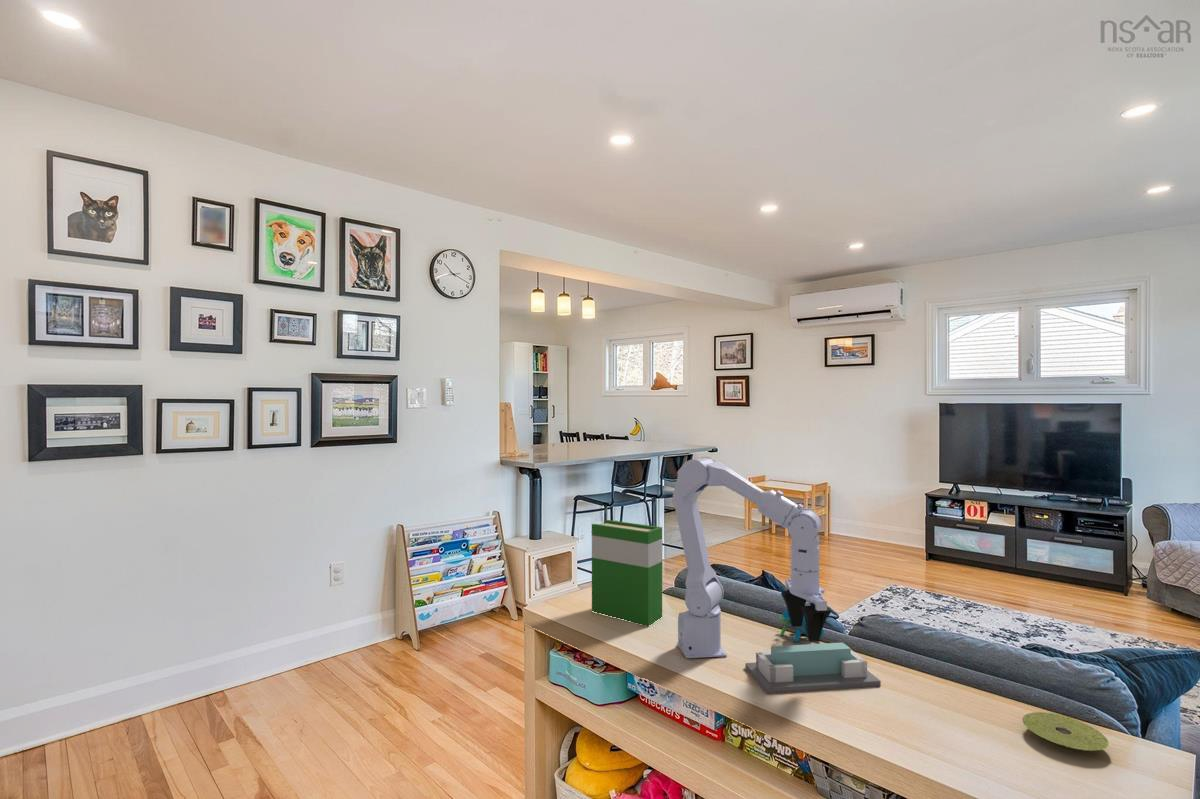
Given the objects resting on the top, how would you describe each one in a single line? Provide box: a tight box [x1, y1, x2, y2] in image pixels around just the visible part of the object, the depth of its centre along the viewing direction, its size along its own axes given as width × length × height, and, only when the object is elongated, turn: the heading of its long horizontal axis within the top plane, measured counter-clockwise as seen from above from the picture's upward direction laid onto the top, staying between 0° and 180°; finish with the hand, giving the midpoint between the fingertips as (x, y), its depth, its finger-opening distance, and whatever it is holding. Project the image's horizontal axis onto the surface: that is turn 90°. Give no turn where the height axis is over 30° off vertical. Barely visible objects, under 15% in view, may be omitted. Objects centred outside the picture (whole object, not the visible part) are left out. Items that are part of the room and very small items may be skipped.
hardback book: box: [591, 519, 663, 627], centre depth 154 cm, size 18×7×24 cm, turn 56°
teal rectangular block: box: [770, 642, 852, 676], centre depth 119 cm, size 16×3×5 cm, turn 97°
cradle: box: [744, 649, 882, 694], centre depth 119 cm, size 24×11×4 cm, turn 97°
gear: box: [780, 608, 825, 643], centre depth 138 cm, size 11×6×10 cm
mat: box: [1021, 711, 1109, 751], centre depth 96 cm, size 11×11×2 cm
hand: (804, 633), depth 121 cm, fingers open, 7 cm apart
